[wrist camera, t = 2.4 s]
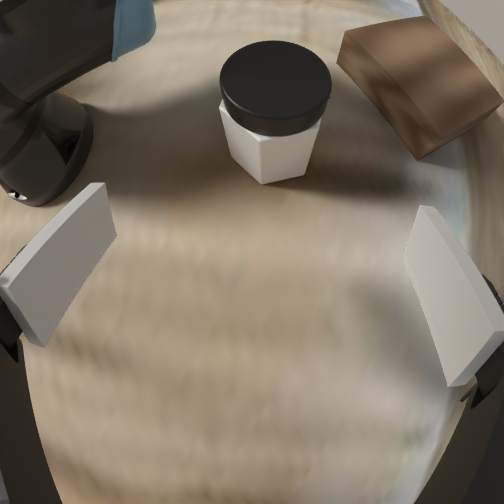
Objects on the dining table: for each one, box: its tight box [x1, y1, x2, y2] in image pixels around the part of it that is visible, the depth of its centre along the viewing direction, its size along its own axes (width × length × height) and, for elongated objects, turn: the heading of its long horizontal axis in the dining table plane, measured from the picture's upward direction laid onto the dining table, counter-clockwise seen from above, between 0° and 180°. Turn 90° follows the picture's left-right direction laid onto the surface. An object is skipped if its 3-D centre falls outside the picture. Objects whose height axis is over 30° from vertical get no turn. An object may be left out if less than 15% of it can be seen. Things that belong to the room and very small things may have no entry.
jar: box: [219, 41, 332, 184], centre depth 25 cm, size 9×8×12 cm
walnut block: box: [336, 16, 504, 161], centre depth 29 cm, size 16×16×6 cm
